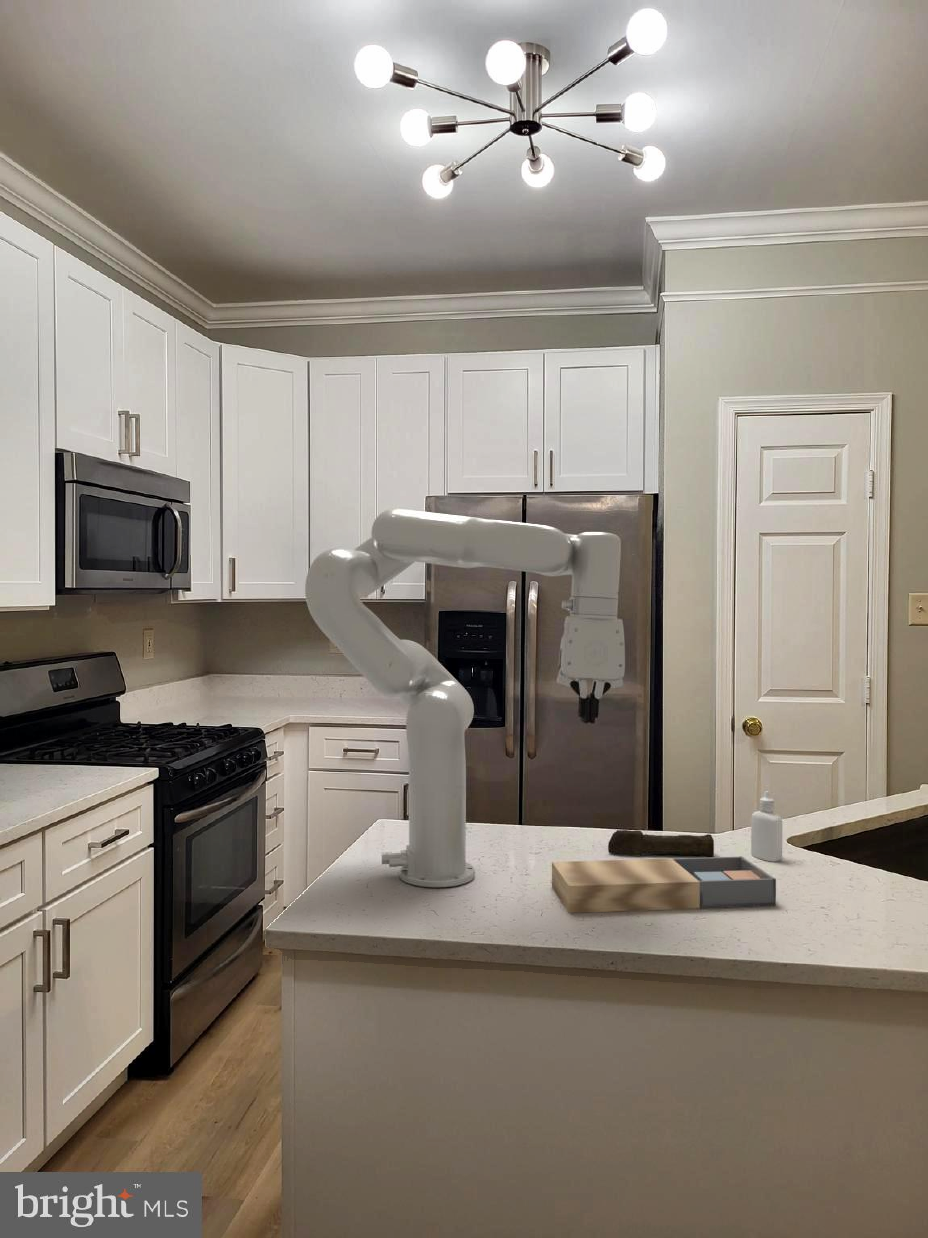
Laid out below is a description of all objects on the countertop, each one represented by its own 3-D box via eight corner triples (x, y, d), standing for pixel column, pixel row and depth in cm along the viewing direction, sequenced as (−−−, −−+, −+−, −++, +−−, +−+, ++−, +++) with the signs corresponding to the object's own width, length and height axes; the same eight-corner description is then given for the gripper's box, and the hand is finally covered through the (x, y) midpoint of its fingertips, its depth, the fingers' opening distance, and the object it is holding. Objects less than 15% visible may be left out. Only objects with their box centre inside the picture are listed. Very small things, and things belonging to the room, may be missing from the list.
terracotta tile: (762, 879, 134) (762, 895, 134) (750, 870, 139) (750, 886, 139) (734, 879, 134) (733, 896, 134) (723, 871, 138) (722, 886, 138)
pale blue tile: (703, 897, 133) (703, 881, 133) (693, 887, 138) (693, 872, 138) (731, 896, 134) (731, 880, 134) (721, 887, 138) (721, 871, 138)
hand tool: (710, 853, 160) (710, 828, 160) (715, 859, 156) (715, 834, 156) (607, 851, 161) (607, 826, 161) (609, 857, 157) (609, 832, 157)
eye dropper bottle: (772, 853, 159) (773, 788, 159) (784, 862, 153) (785, 795, 153) (748, 853, 159) (749, 788, 159) (760, 862, 153) (760, 795, 153)
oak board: (568, 913, 128) (569, 886, 127) (551, 886, 139) (551, 862, 139) (699, 908, 130) (699, 881, 130) (671, 883, 142) (671, 858, 142)
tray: (699, 908, 130) (699, 881, 130) (671, 883, 142) (671, 858, 142) (775, 905, 131) (775, 879, 131) (741, 880, 143) (742, 856, 143)
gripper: (552, 607, 135) (546, 723, 136) (645, 611, 136) (639, 727, 137) (544, 606, 143) (538, 717, 143) (632, 611, 144) (626, 720, 144)
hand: (587, 722), depth 140 cm, fingers closed
